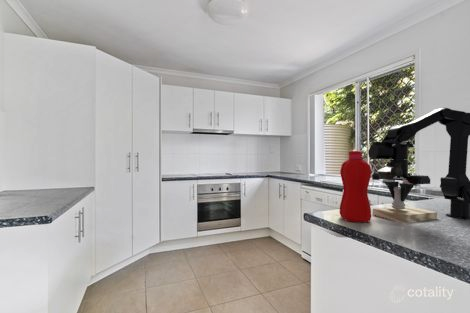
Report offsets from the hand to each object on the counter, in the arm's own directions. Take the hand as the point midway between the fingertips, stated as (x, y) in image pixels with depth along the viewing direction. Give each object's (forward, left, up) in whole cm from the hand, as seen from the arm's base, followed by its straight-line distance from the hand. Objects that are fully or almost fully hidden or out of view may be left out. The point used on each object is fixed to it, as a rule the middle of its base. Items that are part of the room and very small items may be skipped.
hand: (398, 200), depth 90 cm
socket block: (-3, 0, -6) cm, 7 cm away
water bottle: (+18, -2, -7) cm, 19 cm away
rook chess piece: (0, 0, -3) cm, 3 cm away
